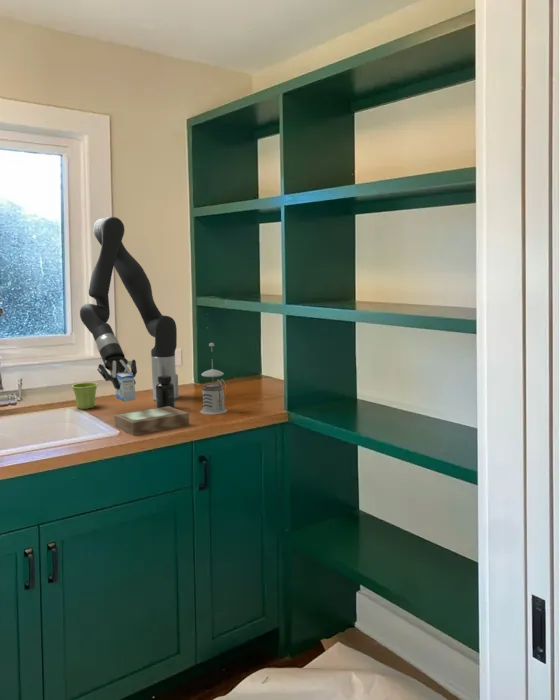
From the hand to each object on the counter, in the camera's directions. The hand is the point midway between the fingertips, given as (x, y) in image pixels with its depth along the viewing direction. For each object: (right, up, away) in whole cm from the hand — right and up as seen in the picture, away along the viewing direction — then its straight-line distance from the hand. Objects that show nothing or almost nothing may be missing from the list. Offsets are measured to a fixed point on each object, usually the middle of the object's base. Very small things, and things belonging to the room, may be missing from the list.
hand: (126, 387), depth 225 cm
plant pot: (-21, -9, +23) cm, 32 cm away
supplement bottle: (+10, -9, +19) cm, 23 cm away
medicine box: (0, -4, +2) cm, 5 cm away
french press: (+29, -10, +12) cm, 33 cm away
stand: (+10, -12, -7) cm, 18 cm away
